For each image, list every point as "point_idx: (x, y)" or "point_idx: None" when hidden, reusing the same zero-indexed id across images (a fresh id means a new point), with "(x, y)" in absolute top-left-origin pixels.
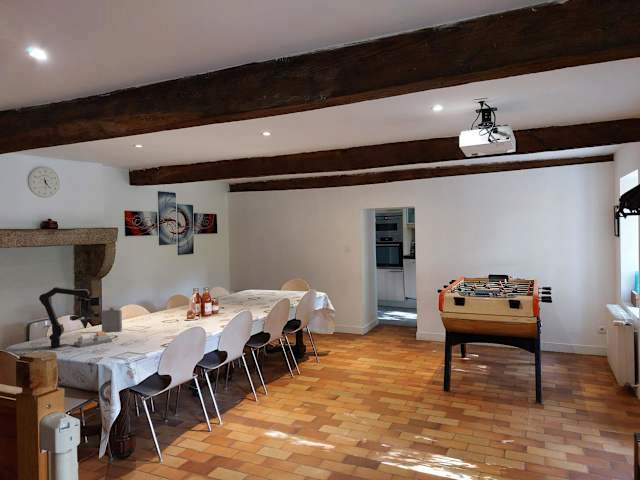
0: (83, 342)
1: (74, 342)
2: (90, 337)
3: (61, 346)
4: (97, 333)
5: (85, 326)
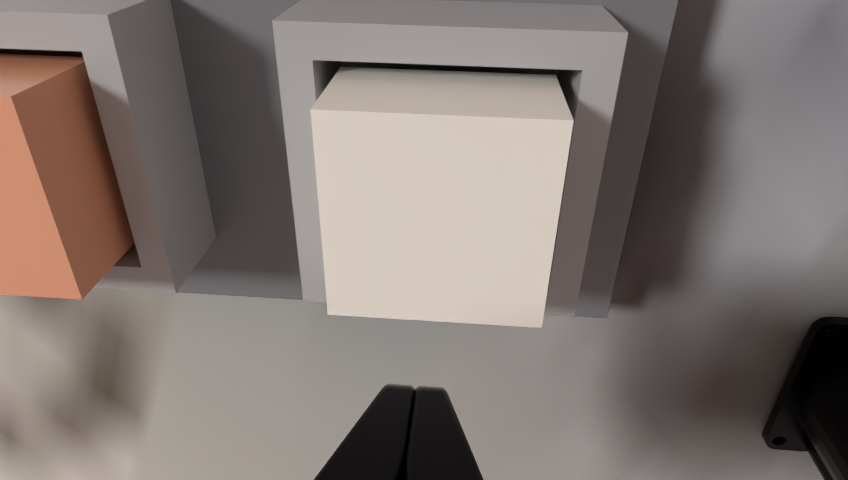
0: (559, 9)
1: (608, 299)
2: None
3: (826, 318)
4: (57, 201)
5: (405, 452)
